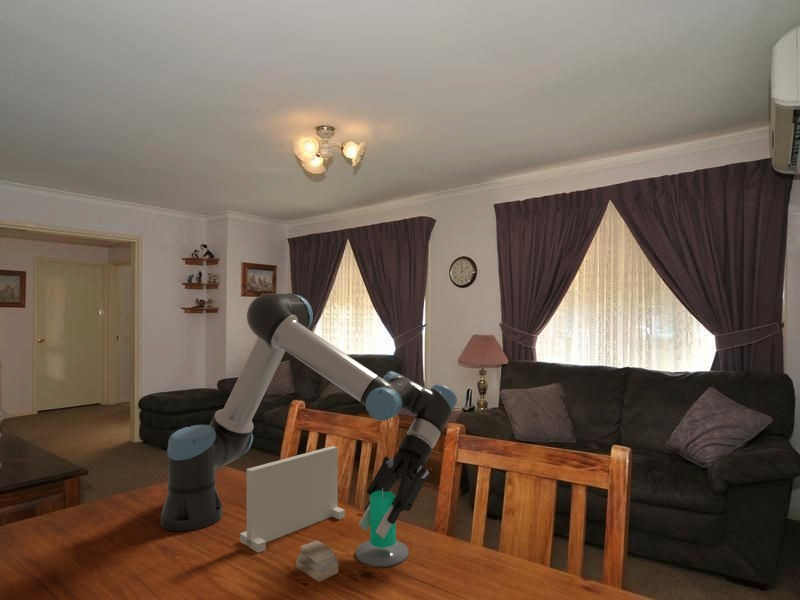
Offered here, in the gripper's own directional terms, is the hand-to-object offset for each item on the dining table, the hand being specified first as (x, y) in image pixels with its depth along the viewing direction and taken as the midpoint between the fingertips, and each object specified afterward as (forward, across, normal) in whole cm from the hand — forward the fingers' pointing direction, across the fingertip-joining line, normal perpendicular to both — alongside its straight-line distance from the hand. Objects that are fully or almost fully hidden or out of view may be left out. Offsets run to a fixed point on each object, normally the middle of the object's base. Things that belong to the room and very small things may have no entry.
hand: (370, 531), depth 113 cm
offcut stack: (+12, +5, +3) cm, 14 cm away
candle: (0, 0, -5) cm, 5 cm away
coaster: (+2, 0, -7) cm, 7 cm away
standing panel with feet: (+6, +25, -3) cm, 26 cm away
